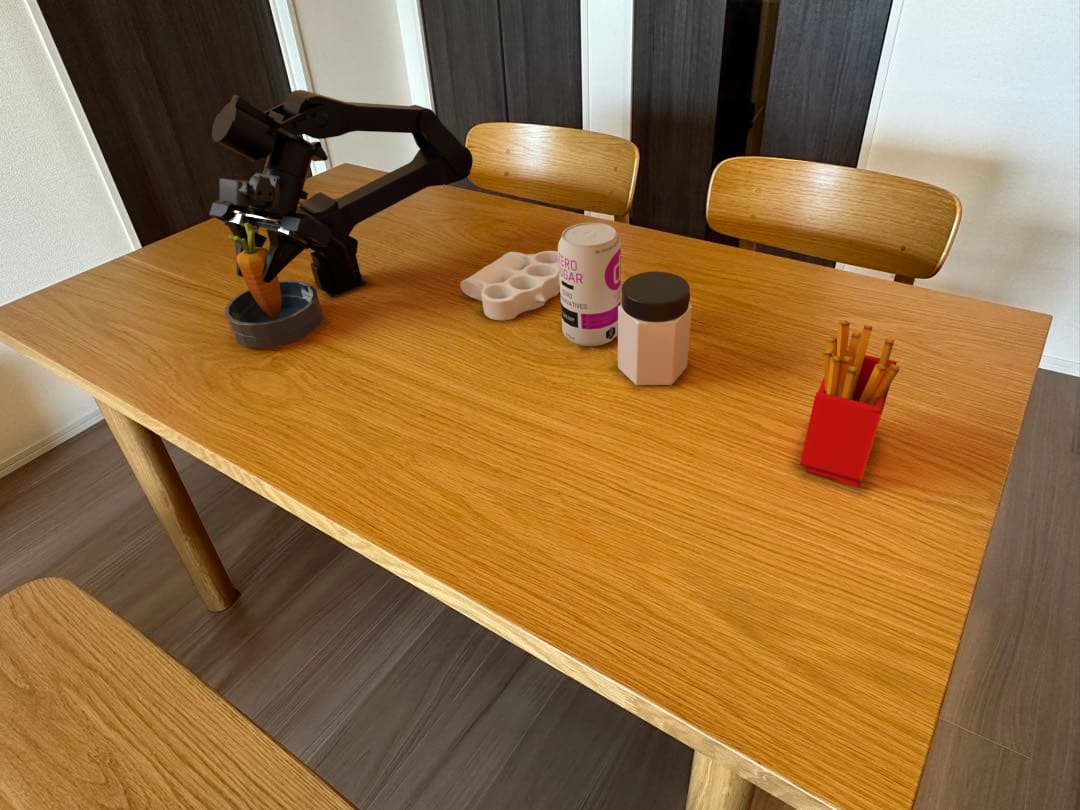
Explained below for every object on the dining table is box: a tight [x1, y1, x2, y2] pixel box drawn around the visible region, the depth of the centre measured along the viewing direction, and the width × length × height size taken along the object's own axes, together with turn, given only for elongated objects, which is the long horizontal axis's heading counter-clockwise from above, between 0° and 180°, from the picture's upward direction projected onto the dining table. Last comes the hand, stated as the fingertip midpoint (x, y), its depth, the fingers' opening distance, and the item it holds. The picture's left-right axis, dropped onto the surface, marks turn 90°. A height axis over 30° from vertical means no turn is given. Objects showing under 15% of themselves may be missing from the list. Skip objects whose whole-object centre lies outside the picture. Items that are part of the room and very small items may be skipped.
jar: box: [617, 270, 693, 386], centre depth 87 cm, size 9×8×12 cm
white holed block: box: [459, 250, 560, 322], centre depth 108 cm, size 3×18×15 cm
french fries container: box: [799, 320, 901, 489], centre depth 72 cm, size 7×9×14 cm
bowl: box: [224, 279, 325, 349], centre depth 104 cm, size 13×13×4 cm
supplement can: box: [557, 222, 622, 347], centre depth 94 cm, size 8×8×15 cm
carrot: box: [228, 223, 282, 320], centre depth 101 cm, size 5×5×15 cm
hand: (252, 279), depth 100 cm, fingers closed on carrot, 5 cm apart
